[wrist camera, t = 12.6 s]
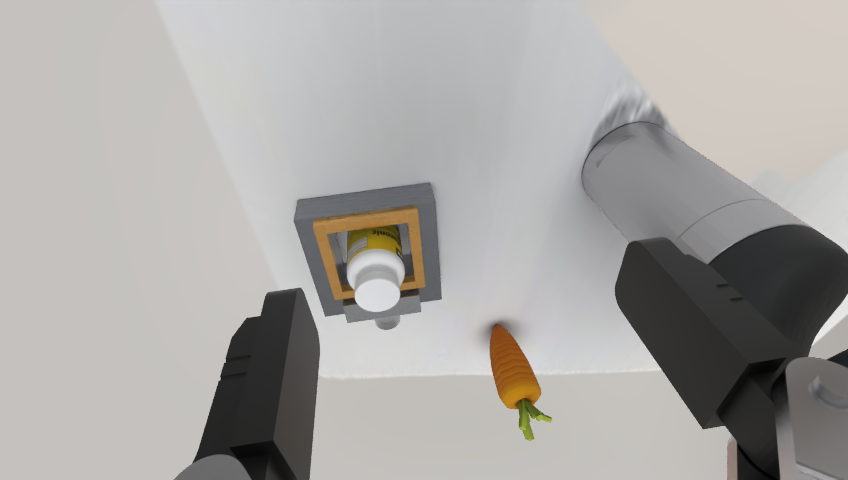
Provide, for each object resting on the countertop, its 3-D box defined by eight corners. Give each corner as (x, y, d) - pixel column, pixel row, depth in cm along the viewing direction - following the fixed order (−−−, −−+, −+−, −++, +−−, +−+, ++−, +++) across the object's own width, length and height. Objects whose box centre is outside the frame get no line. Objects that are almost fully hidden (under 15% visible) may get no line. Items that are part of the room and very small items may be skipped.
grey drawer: (429, 182, 41) (437, 210, 37) (438, 301, 51) (445, 332, 47) (297, 200, 40) (291, 230, 36) (334, 316, 50) (332, 350, 46)
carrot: (497, 308, 53) (537, 417, 42) (521, 321, 56) (566, 428, 44) (471, 330, 55) (502, 439, 44) (495, 342, 58) (532, 449, 46)
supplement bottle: (409, 231, 44) (420, 296, 36) (372, 258, 46) (376, 326, 38) (374, 200, 41) (378, 263, 33) (336, 230, 43) (332, 298, 35)
